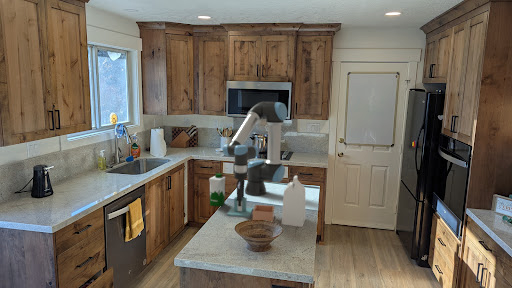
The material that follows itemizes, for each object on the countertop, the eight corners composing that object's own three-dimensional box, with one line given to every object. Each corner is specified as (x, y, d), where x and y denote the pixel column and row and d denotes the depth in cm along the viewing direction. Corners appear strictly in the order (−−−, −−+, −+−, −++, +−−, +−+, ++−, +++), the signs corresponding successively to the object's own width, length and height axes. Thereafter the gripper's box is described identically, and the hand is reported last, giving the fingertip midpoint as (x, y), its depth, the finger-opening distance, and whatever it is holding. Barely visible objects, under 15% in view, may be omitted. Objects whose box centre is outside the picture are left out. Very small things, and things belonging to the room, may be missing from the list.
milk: (302, 226, 191) (304, 180, 187) (281, 224, 194) (283, 178, 190) (305, 219, 202) (307, 175, 198) (285, 216, 205) (287, 173, 201)
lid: (231, 207, 217) (232, 194, 215) (252, 209, 215) (252, 195, 213) (227, 215, 204) (227, 200, 202) (249, 216, 202) (249, 202, 201)
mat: (230, 207, 218) (230, 206, 218) (255, 209, 216) (255, 208, 216) (224, 217, 203) (224, 216, 203) (251, 219, 200) (251, 218, 200)
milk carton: (226, 204, 225) (226, 173, 222) (220, 208, 217) (220, 177, 214) (214, 202, 228) (214, 172, 225) (207, 206, 220) (207, 175, 216)
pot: (255, 216, 206) (255, 204, 205) (274, 217, 204) (274, 206, 203) (252, 223, 195) (252, 211, 194) (272, 224, 193) (272, 212, 192)
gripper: (237, 168, 213) (236, 205, 217) (231, 174, 198) (231, 214, 202) (249, 168, 212) (248, 206, 216) (244, 175, 197) (244, 215, 201)
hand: (240, 210), depth 209 cm, fingers open, 3 cm apart
